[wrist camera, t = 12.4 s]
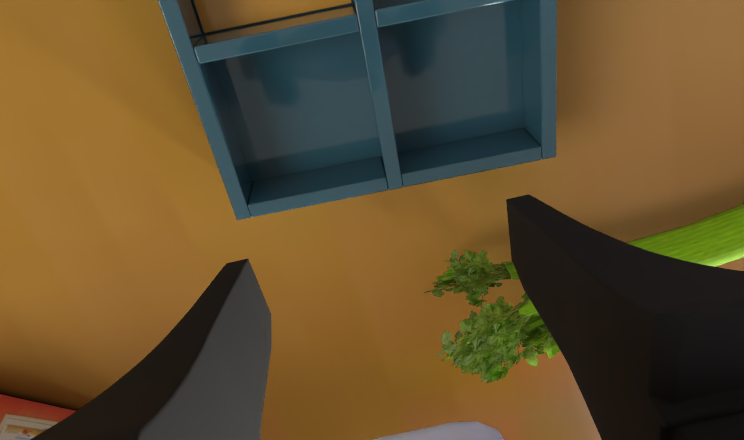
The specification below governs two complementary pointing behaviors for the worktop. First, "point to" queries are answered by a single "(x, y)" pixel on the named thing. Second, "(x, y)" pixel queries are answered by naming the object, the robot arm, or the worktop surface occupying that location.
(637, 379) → the robot arm
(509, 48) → the teal compartment tray
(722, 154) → the worktop surface
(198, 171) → the worktop surface
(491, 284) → the celery
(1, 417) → the cracker box
